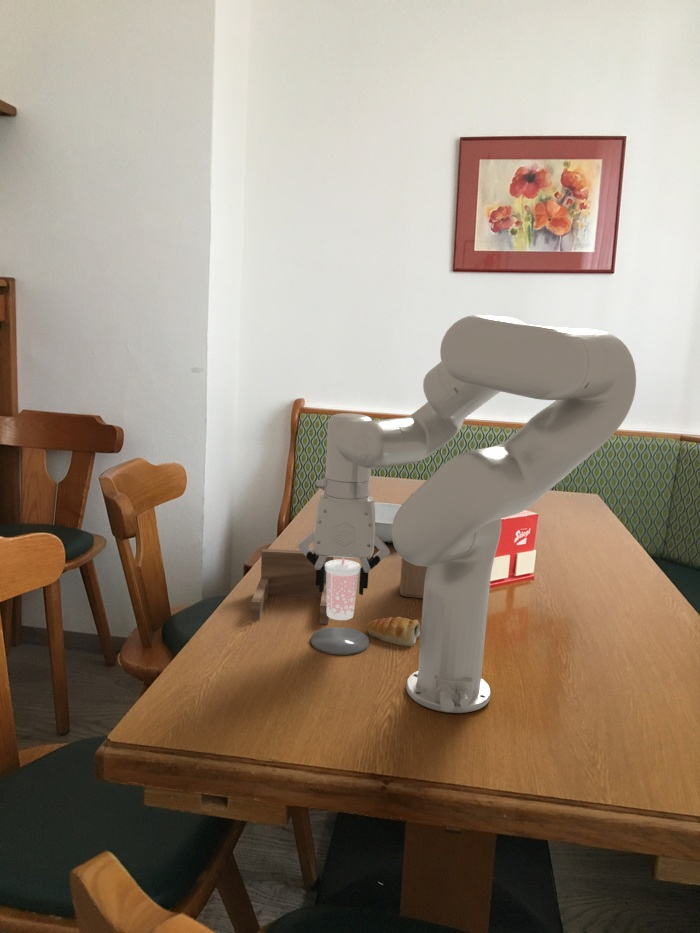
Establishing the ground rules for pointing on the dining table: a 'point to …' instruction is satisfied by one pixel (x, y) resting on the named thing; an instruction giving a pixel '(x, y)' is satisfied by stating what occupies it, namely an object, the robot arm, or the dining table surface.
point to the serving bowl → (385, 520)
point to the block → (412, 579)
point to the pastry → (395, 630)
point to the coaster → (339, 641)
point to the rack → (287, 580)
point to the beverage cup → (341, 588)
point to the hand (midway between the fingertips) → (341, 589)
